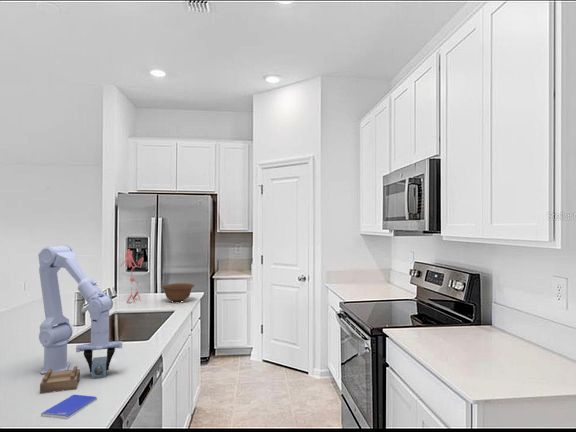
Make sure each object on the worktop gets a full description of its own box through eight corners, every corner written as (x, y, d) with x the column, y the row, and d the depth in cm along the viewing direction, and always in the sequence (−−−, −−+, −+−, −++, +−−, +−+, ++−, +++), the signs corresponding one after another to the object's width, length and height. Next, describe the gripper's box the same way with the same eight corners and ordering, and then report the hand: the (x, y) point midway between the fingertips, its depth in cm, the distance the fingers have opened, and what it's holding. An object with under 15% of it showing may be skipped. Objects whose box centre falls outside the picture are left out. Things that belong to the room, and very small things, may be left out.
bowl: (153, 301, 275) (153, 285, 275) (181, 297, 292) (181, 281, 292) (173, 306, 261) (173, 288, 261) (201, 301, 278) (201, 285, 278)
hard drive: (67, 415, 111) (97, 396, 123) (41, 412, 113) (72, 394, 125) (67, 421, 111) (97, 401, 123) (40, 418, 113) (72, 399, 125)
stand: (46, 381, 137) (46, 368, 137) (79, 377, 140) (79, 365, 141) (39, 393, 128) (40, 379, 128) (76, 389, 131) (76, 375, 131)
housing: (93, 371, 146) (93, 357, 146) (107, 370, 148) (107, 356, 148) (91, 379, 139) (91, 364, 139) (105, 377, 141) (106, 362, 141)
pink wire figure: (146, 298, 288) (146, 247, 289) (131, 305, 263) (131, 250, 263) (125, 298, 289) (124, 248, 289) (107, 305, 263) (107, 250, 264)
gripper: (75, 336, 137) (74, 377, 137) (122, 332, 143) (121, 371, 142) (77, 330, 144) (77, 370, 144) (122, 327, 149) (122, 365, 149)
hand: (99, 370), depth 144 cm, fingers closed on housing, 4 cm apart
